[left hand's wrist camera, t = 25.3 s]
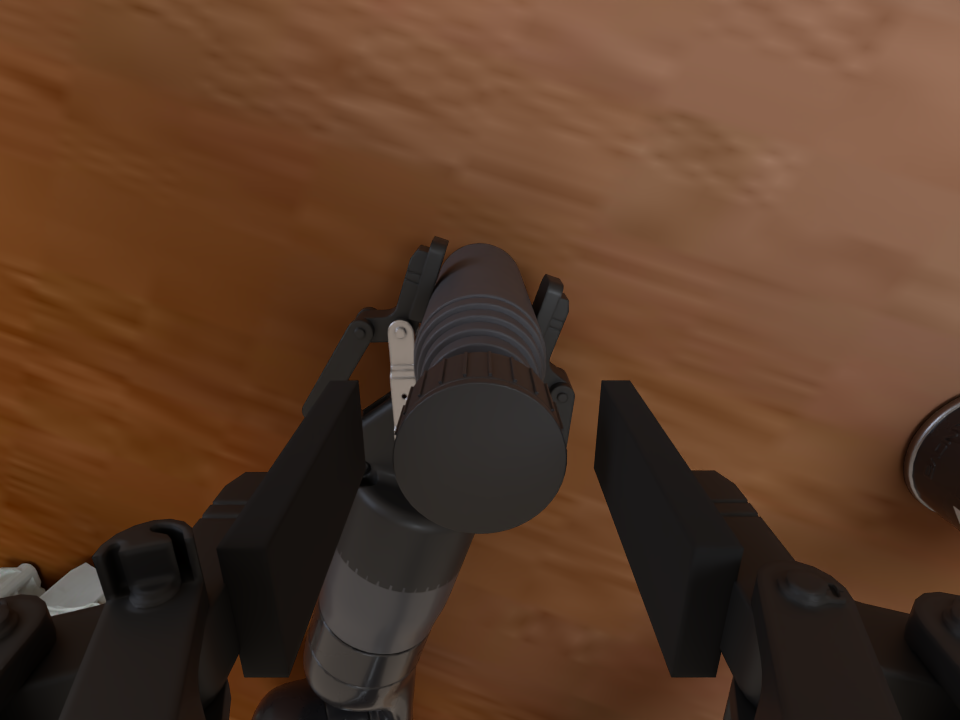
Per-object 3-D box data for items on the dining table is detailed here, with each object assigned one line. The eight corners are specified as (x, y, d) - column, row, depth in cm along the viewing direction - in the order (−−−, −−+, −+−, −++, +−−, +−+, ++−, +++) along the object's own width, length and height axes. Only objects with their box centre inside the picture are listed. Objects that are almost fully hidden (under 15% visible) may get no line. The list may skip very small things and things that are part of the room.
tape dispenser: (-109, 560, 40) (99, 721, 44) (-201, 617, 35) (45, 792, 39) (16, 435, 35) (237, 629, 39) (-69, 479, 30) (195, 696, 34)
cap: (504, 510, 16) (508, 561, 14) (375, 444, 15) (358, 487, 13) (587, 398, 15) (605, 437, 13) (451, 319, 14) (446, 346, 12)
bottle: (480, 341, 32) (481, 554, 15) (420, 286, 31) (344, 448, 14) (539, 284, 31) (615, 444, 14) (478, 224, 30) (477, 315, 12)
